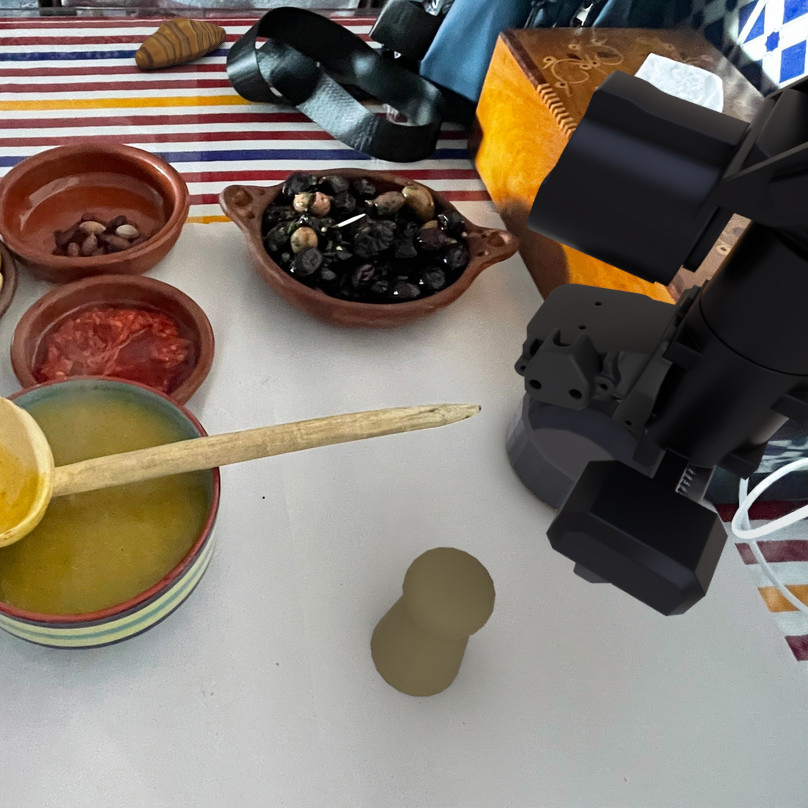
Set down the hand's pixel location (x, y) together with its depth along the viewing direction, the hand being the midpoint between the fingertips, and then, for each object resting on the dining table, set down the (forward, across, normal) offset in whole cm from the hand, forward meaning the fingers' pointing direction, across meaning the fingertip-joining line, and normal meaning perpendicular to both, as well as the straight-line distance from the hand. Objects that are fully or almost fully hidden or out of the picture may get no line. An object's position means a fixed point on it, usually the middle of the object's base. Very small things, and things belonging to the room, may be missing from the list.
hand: (613, 516), depth 43 cm
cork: (+13, +8, -5) cm, 16 cm away
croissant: (+13, -42, -68) cm, 81 cm away
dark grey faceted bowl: (+13, -14, -2) cm, 19 cm away
